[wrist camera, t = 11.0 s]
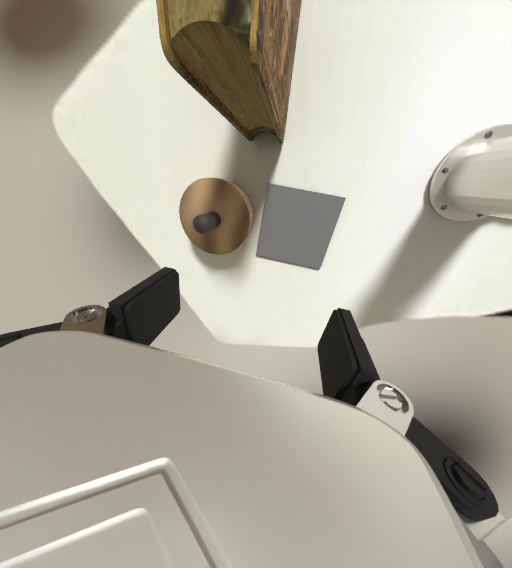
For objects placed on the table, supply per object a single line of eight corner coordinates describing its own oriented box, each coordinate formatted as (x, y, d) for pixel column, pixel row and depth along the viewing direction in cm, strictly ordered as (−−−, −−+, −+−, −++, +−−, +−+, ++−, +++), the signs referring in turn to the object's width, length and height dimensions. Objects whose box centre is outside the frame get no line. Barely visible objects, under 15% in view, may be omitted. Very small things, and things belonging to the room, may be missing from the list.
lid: (255, 185, 31) (247, 185, 26) (245, 258, 37) (237, 271, 32) (181, 171, 32) (158, 169, 27) (184, 245, 38) (165, 255, 33)
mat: (344, 197, 34) (345, 198, 33) (319, 268, 41) (319, 269, 40) (268, 183, 35) (268, 183, 34) (256, 254, 42) (256, 254, 41)
